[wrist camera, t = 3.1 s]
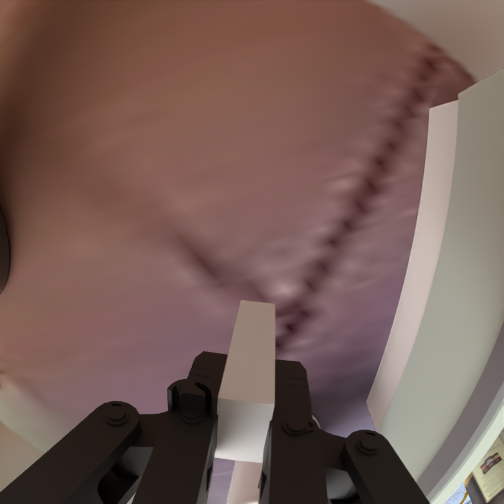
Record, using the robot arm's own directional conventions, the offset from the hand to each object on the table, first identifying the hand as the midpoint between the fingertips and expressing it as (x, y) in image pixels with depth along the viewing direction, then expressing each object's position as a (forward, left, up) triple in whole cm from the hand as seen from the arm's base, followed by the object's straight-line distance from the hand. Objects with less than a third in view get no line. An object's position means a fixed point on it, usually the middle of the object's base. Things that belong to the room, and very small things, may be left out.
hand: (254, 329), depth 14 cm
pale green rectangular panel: (+11, 0, 0) cm, 11 cm away
